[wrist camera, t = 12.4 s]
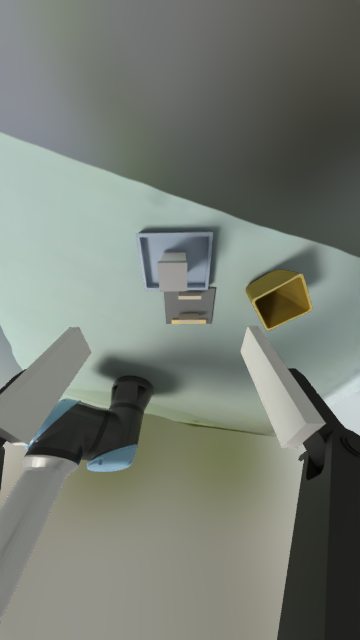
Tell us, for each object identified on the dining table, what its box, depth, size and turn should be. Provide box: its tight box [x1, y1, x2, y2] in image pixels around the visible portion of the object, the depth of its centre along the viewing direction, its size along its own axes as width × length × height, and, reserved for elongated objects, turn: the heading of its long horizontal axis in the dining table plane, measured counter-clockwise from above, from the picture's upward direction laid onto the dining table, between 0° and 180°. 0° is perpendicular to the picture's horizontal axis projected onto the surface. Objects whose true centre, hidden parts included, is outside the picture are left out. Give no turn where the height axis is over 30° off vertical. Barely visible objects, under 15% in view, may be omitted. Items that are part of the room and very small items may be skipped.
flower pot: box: [246, 270, 313, 330], centre depth 32 cm, size 9×9×9 cm
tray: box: [136, 231, 213, 291], centre depth 31 cm, size 14×11×2 cm
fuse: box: [157, 251, 187, 292], centre depth 28 cm, size 4×4×10 cm
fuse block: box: [164, 288, 215, 324], centre depth 37 cm, size 12×10×4 cm
